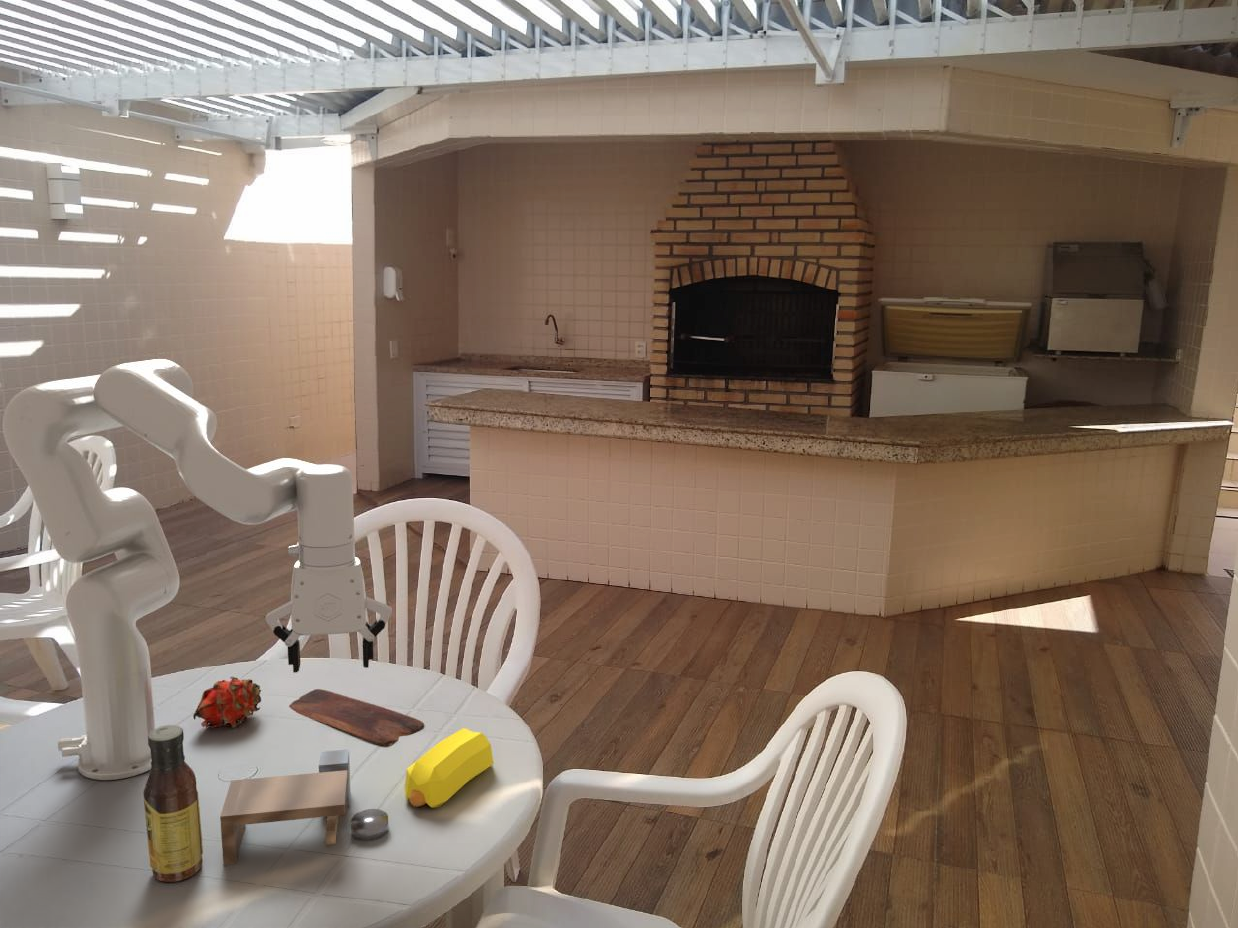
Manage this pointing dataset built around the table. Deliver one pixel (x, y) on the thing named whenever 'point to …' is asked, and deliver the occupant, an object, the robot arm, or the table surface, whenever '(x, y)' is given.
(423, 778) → the yellow faceted part
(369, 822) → the steel token
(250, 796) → the walnut shelf
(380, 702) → the table surface
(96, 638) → the robot arm
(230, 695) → the dragon fruit
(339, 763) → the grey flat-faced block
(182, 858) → the sauce bottle
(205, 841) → the table surface
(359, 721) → the wooden tablet
